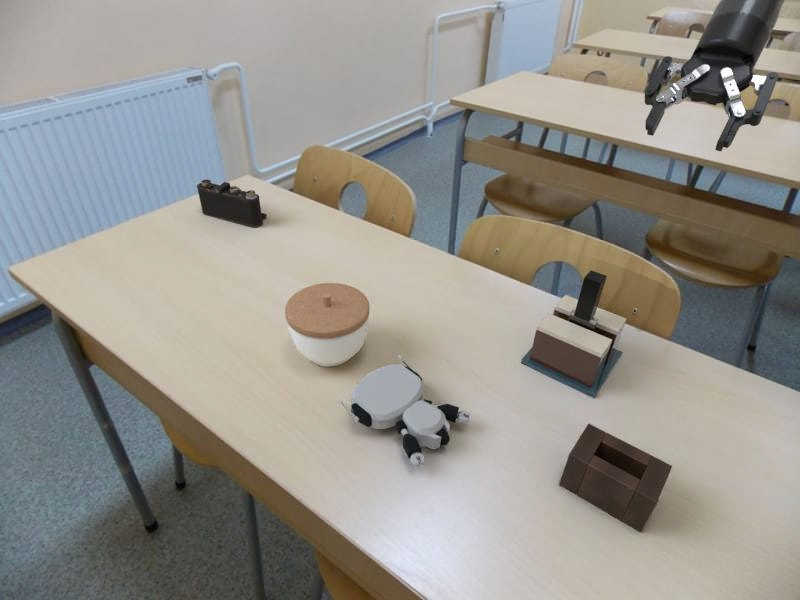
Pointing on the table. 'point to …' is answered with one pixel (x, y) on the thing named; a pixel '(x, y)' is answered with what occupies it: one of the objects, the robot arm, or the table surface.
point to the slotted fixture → (576, 348)
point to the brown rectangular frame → (615, 476)
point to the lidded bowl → (328, 322)
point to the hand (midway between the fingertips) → (683, 139)
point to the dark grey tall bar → (588, 301)
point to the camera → (230, 203)
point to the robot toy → (403, 409)
